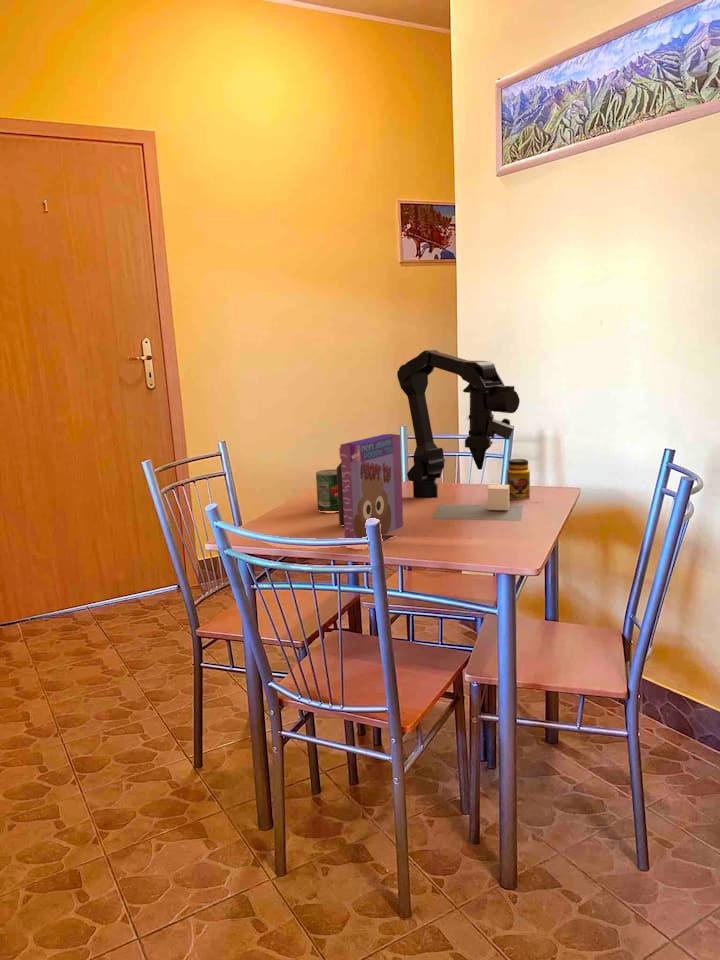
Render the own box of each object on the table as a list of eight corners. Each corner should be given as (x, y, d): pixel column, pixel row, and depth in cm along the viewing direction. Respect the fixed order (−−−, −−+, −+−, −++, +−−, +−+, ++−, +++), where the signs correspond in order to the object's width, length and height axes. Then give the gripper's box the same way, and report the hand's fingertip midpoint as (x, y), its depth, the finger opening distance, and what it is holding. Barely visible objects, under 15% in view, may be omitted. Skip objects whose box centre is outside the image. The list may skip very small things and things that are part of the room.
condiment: (517, 506, 194) (517, 463, 192) (496, 501, 201) (496, 459, 199) (537, 502, 198) (537, 459, 195) (515, 497, 205) (515, 456, 202)
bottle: (369, 521, 184) (365, 445, 180) (361, 528, 178) (358, 449, 174) (344, 521, 186) (340, 445, 182) (335, 527, 180) (331, 449, 176)
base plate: (431, 524, 179) (431, 518, 178) (440, 509, 194) (440, 504, 194) (520, 526, 173) (520, 520, 173) (522, 511, 188) (522, 505, 188)
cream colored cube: (487, 509, 183) (487, 488, 182) (489, 505, 188) (489, 484, 187) (508, 510, 182) (508, 488, 181) (509, 505, 186) (509, 484, 185)
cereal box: (362, 550, 159) (357, 444, 154) (345, 547, 162) (340, 443, 157) (403, 532, 173) (400, 434, 168) (386, 529, 176) (383, 433, 171)
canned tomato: (320, 507, 203) (318, 469, 201) (347, 506, 202) (345, 468, 200) (315, 514, 195) (313, 474, 193) (344, 513, 194) (342, 474, 192)
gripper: (510, 415, 174) (509, 477, 177) (513, 406, 192) (512, 463, 195) (464, 414, 177) (464, 476, 180) (472, 406, 194) (471, 462, 198)
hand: (480, 469), depth 188 cm, fingers closed
